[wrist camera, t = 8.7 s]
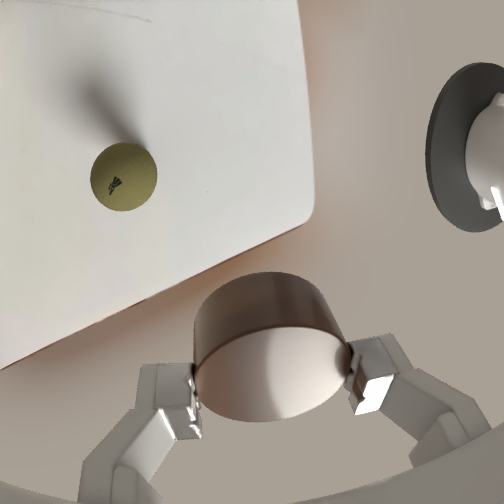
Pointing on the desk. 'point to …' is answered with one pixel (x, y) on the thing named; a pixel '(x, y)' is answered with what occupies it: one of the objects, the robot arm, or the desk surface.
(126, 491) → the robot arm
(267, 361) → the brown cylindrical puck
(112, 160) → the light bulb
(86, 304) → the desk surface
